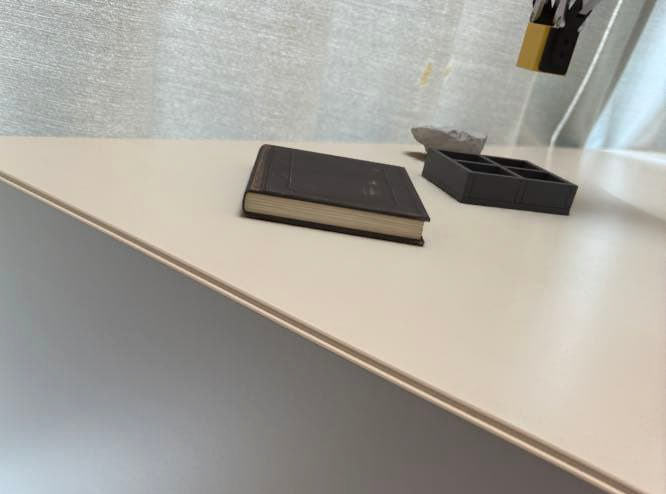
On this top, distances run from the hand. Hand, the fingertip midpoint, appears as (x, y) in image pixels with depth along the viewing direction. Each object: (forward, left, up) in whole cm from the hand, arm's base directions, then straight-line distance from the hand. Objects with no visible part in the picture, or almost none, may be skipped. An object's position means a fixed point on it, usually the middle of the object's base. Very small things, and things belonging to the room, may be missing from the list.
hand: (541, 68), depth 87 cm
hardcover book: (+26, +16, -13) cm, 33 cm away
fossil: (+2, -16, -13) cm, 21 cm away
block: (0, 0, 0) cm, 0 cm away
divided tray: (+3, +3, -13) cm, 13 cm away
